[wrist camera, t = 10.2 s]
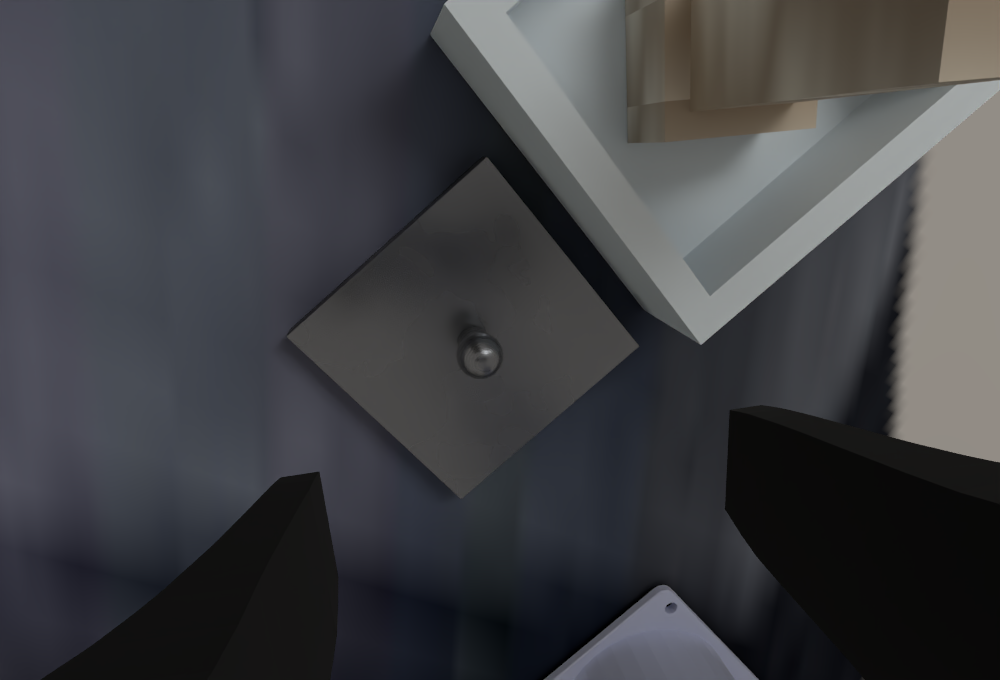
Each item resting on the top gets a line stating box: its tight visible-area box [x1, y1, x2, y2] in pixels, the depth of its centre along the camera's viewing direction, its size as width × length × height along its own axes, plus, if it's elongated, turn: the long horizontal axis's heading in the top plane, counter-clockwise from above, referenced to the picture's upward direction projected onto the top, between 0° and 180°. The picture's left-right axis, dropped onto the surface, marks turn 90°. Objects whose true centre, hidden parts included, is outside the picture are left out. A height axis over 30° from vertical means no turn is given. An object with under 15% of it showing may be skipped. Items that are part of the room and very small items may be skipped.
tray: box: [430, 0, 1000, 345], centre depth 17 cm, size 11×11×4 cm
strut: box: [625, 0, 1000, 143], centre depth 13 cm, size 4×4×10 cm
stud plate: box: [287, 157, 639, 499], centre depth 19 cm, size 8×8×3 cm
